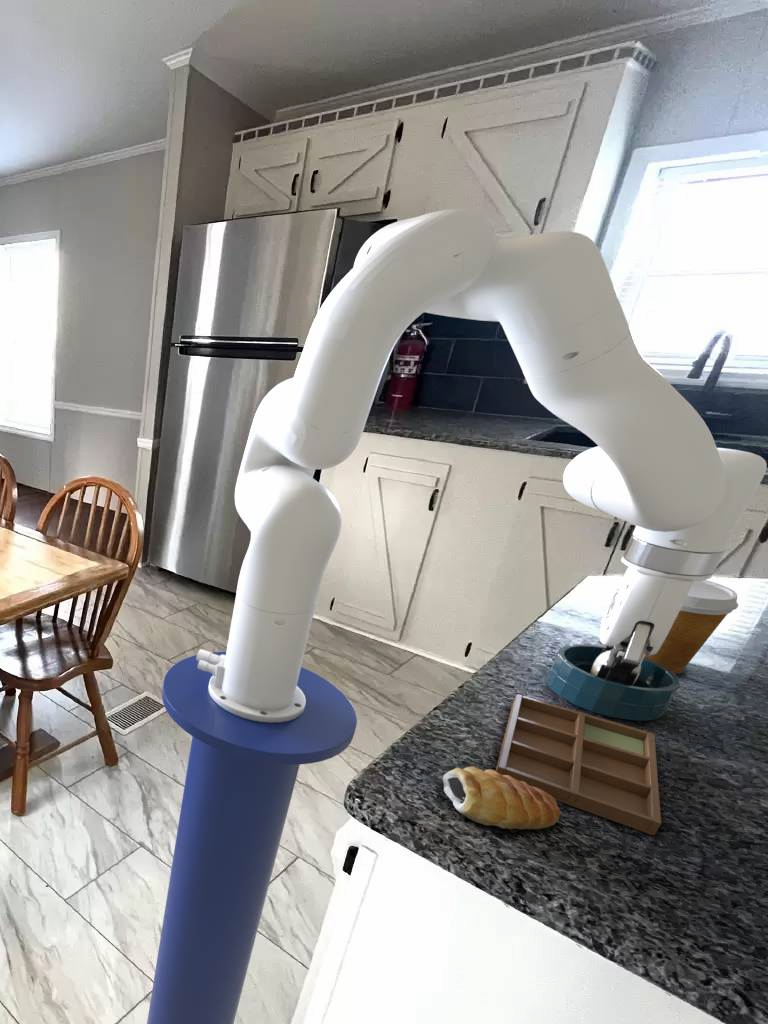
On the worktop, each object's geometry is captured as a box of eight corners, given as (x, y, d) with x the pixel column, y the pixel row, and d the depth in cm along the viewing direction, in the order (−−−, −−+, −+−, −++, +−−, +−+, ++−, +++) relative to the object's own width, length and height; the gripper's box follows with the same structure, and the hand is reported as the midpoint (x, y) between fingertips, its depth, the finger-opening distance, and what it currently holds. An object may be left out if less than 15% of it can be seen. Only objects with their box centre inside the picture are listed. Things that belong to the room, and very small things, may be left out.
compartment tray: (493, 778, 70) (498, 766, 69) (512, 703, 82) (516, 693, 81) (654, 835, 62) (661, 823, 61) (648, 744, 74) (654, 733, 73)
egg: (581, 695, 82) (601, 653, 79) (582, 681, 85) (601, 640, 82) (626, 707, 79) (648, 664, 77) (626, 693, 82) (647, 650, 79)
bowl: (541, 701, 82) (555, 668, 80) (547, 666, 90) (561, 635, 87) (663, 736, 75) (682, 701, 73) (659, 695, 83) (676, 663, 80)
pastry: (534, 794, 67) (547, 766, 66) (571, 843, 61) (587, 813, 60) (434, 781, 69) (444, 754, 68) (461, 827, 64) (473, 798, 62)
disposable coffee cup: (694, 659, 90) (735, 583, 85) (704, 688, 84) (749, 608, 78) (603, 639, 96) (637, 566, 91) (606, 665, 89) (643, 588, 84)
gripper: (625, 531, 82) (571, 653, 89) (626, 570, 71) (564, 705, 78) (710, 543, 77) (645, 671, 85) (725, 588, 66) (649, 730, 74)
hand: (607, 686), depth 82 cm, fingers closed on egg, 4 cm apart
